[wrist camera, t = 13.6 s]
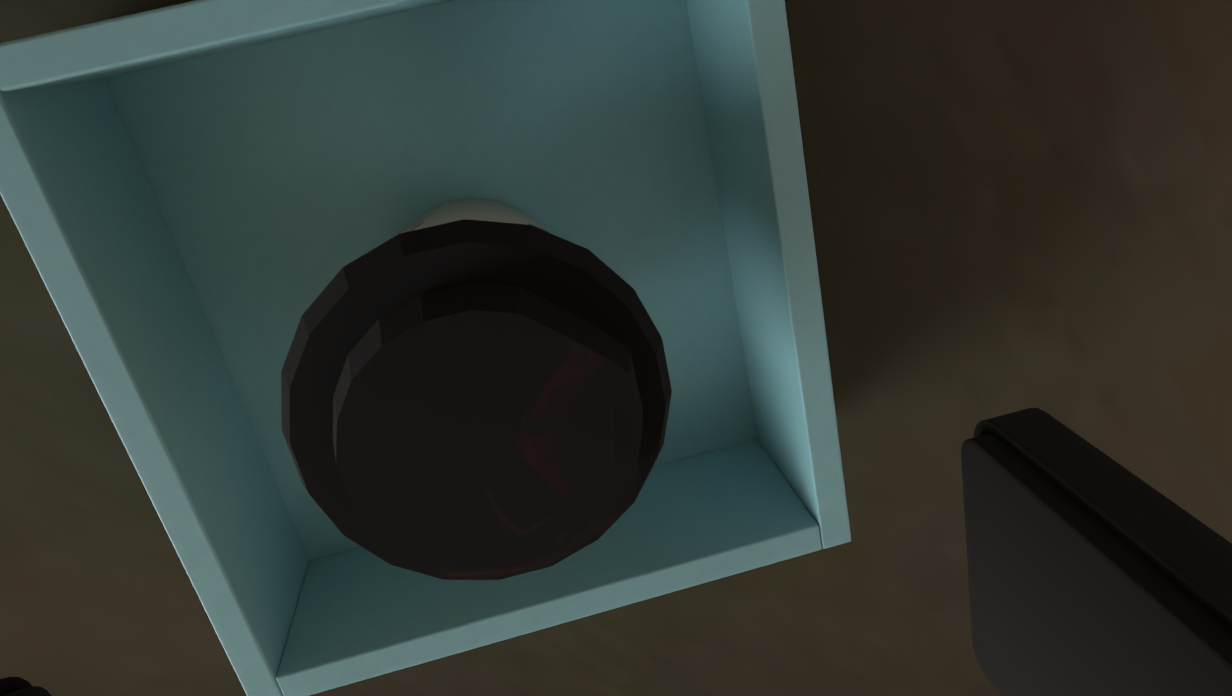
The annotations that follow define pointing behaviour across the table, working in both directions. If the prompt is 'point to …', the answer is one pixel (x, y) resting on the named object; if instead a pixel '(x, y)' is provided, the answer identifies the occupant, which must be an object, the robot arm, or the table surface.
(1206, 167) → the table surface
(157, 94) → the open box
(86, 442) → the table surface
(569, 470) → the coffee cup
